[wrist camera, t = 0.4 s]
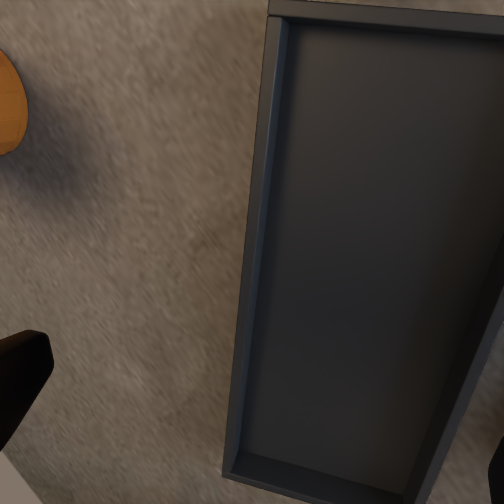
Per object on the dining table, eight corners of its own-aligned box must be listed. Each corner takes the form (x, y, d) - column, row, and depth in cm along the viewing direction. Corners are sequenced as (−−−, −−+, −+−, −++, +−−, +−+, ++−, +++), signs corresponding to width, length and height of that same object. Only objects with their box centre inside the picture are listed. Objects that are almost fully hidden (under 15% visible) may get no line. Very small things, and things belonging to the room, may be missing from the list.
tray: (408, 494, 27) (412, 534, 25) (232, 445, 29) (221, 477, 27) (590, 32, 16) (631, 25, 13) (280, 7, 18) (268, -3, 15)
